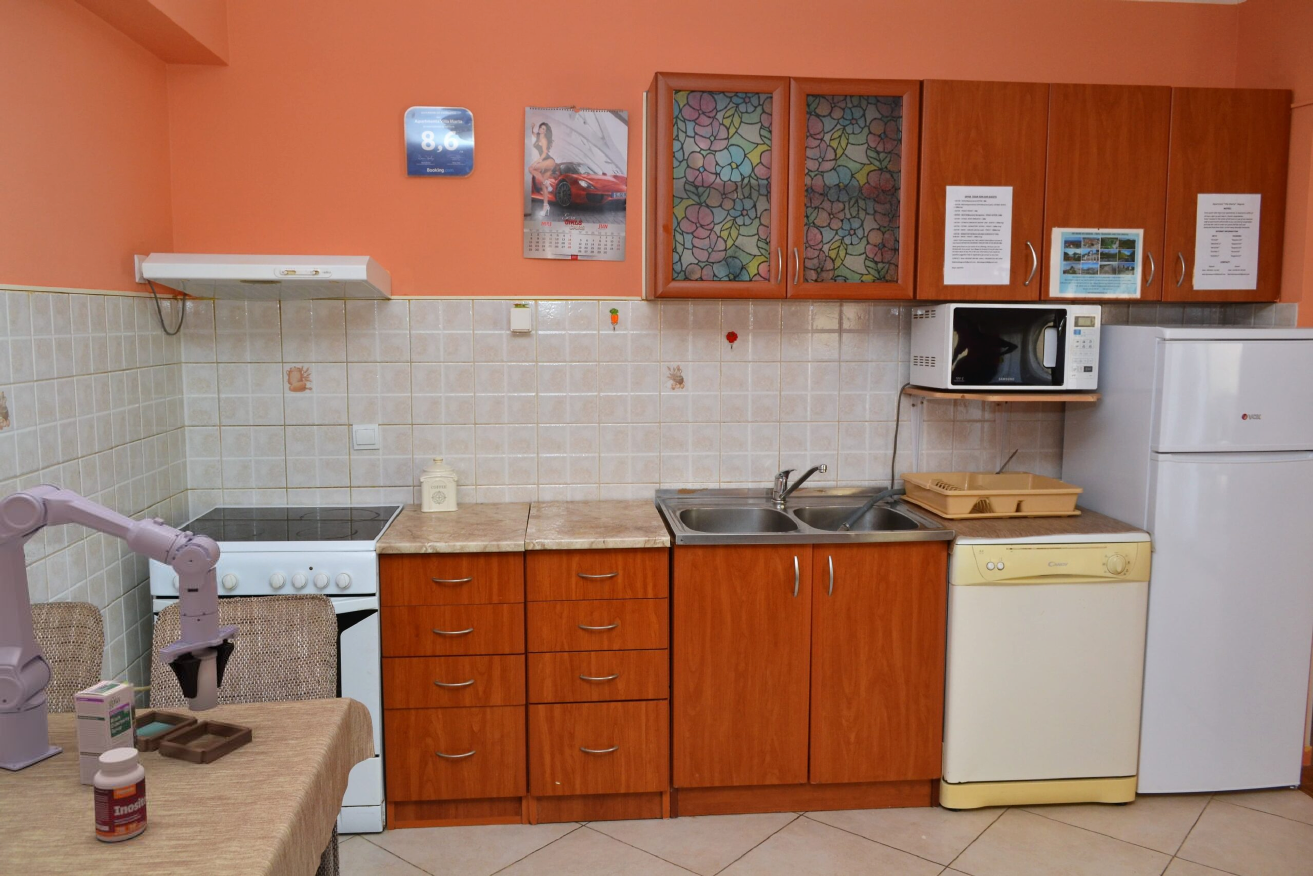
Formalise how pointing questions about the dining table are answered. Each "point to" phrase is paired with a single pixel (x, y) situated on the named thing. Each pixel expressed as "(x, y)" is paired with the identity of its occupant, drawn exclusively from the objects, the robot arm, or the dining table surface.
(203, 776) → the dining table surface
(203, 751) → the brown flat frame
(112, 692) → the syrup box
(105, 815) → the pill bottle
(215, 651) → the tube
